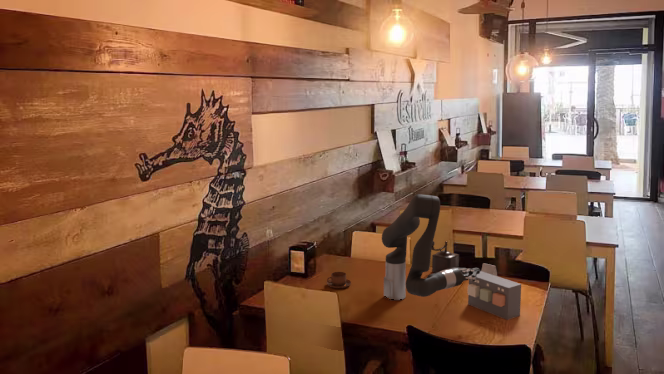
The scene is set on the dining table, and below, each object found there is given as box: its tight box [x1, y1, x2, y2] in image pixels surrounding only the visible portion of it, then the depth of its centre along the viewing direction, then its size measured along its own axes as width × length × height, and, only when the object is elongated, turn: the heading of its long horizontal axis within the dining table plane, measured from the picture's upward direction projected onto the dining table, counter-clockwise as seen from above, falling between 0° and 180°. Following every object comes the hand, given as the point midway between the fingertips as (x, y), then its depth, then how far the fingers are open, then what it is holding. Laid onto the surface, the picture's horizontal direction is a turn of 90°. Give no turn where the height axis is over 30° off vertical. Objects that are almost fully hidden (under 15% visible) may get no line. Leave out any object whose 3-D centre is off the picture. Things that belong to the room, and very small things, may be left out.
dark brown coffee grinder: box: [431, 240, 460, 273], centre depth 311 cm, size 16×11×18 cm
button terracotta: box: [492, 292, 506, 307], centre depth 252 cm, size 4×4×4 cm
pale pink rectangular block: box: [480, 262, 498, 276], centre depth 294 cm, size 4×7×10 cm, turn 46°
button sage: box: [480, 288, 492, 302], centre depth 258 cm, size 4×4×4 cm
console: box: [467, 270, 522, 321], centre depth 260 cm, size 22×8×14 cm, turn 35°
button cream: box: [467, 283, 480, 297], centre depth 263 cm, size 4×4×4 cm
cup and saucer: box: [326, 271, 352, 289], centre depth 295 cm, size 12×12×6 cm
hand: (478, 270), depth 252 cm, fingers closed
